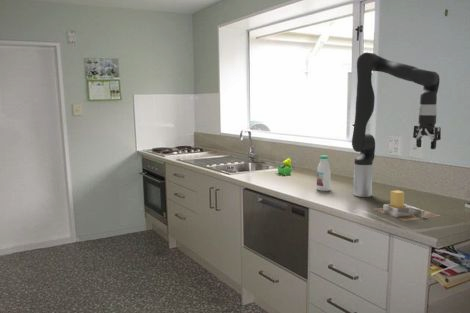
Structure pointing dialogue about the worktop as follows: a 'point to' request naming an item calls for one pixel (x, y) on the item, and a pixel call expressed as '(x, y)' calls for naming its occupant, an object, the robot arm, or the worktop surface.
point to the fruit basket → (285, 167)
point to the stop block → (397, 199)
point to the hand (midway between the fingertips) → (425, 148)
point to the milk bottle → (323, 174)
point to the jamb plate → (405, 212)
